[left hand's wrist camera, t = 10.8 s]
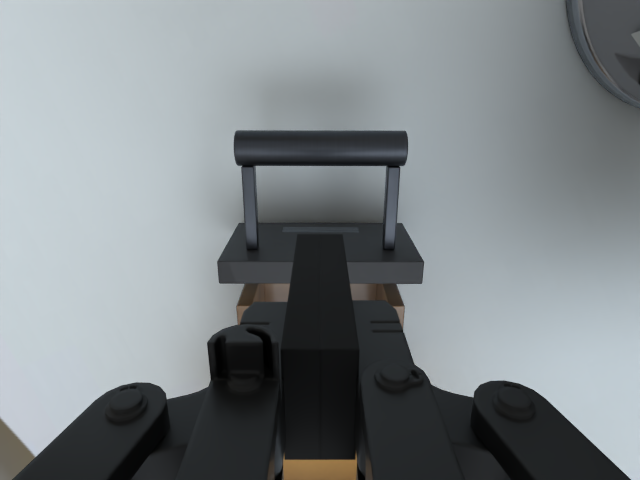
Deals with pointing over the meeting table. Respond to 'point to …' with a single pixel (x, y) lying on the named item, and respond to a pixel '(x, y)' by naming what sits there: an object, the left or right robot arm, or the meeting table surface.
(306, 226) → the drawer
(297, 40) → the meeting table surface
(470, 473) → the left robot arm
